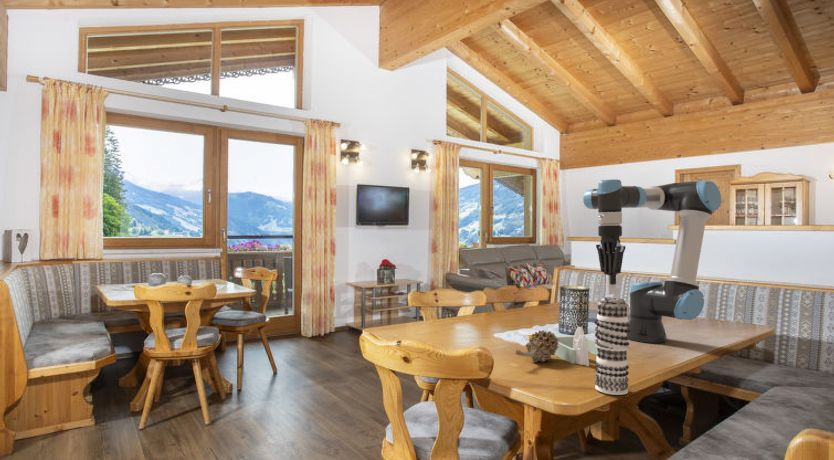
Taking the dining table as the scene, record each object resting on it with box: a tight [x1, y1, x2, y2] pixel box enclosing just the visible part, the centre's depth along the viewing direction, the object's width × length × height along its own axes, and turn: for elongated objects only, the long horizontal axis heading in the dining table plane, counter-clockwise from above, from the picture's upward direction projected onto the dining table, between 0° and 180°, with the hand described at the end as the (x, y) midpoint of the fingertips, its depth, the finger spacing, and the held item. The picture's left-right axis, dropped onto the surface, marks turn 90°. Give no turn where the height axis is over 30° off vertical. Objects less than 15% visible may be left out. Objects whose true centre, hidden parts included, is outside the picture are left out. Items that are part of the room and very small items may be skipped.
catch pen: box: [554, 335, 597, 365], centre depth 170 cm, size 15×19×4 cm
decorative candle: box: [593, 297, 630, 396], centre depth 133 cm, size 9×9×25 cm
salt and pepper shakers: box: [573, 326, 590, 367], centre depth 162 cm, size 12×4×11 cm, turn 169°
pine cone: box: [514, 330, 559, 364], centre depth 159 cm, size 22×10×10 cm, turn 138°
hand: (610, 293), depth 166 cm, fingers closed
